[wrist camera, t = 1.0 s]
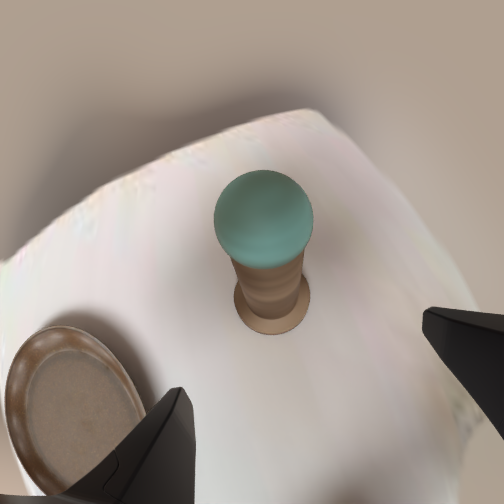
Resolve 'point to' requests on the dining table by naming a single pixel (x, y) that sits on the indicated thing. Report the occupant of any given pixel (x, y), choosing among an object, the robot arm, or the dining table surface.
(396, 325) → the dining table surface
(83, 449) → the plant saucer
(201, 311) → the dining table surface
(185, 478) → the robot arm
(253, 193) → the bead column
